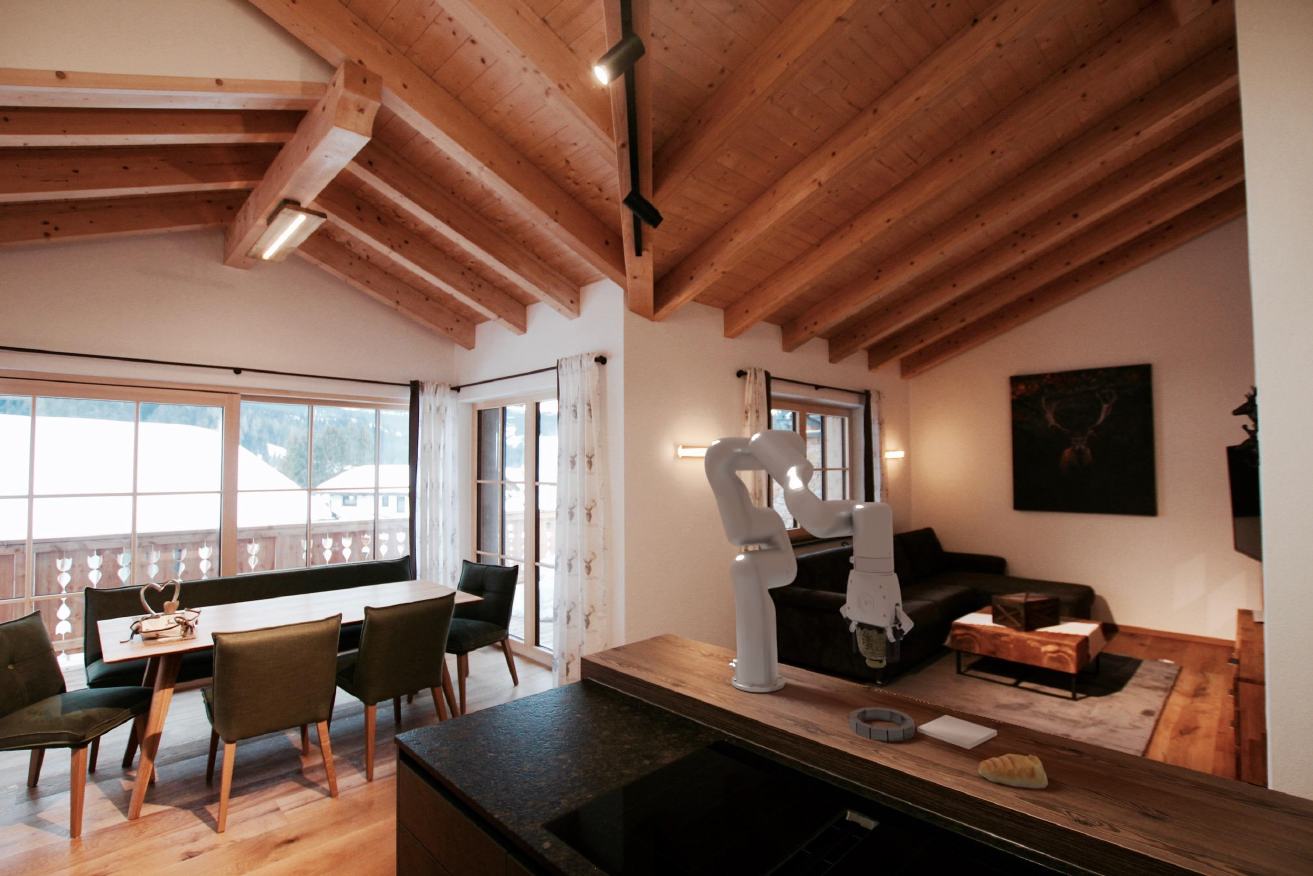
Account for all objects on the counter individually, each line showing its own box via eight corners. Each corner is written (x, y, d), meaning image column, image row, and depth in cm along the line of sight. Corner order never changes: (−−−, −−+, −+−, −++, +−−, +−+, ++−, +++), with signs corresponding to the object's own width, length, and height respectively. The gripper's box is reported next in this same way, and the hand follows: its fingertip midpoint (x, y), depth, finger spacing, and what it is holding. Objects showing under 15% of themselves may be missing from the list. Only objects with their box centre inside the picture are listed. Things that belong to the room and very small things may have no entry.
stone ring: (838, 727, 122) (837, 716, 122) (874, 713, 129) (874, 703, 129) (890, 746, 113) (889, 735, 113) (926, 730, 119) (926, 720, 119)
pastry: (987, 788, 97) (986, 763, 98) (972, 769, 104) (971, 745, 104) (1052, 791, 96) (1050, 766, 96) (1033, 771, 103) (1031, 747, 103)
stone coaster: (917, 731, 119) (917, 727, 119) (946, 719, 125) (945, 715, 125) (968, 749, 111) (968, 744, 111) (997, 735, 116) (996, 730, 116)
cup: (890, 660, 125) (889, 620, 126) (901, 672, 118) (899, 629, 118) (852, 660, 126) (851, 620, 126) (860, 671, 119) (859, 629, 119)
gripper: (825, 561, 128) (828, 649, 127) (901, 573, 114) (904, 671, 113) (849, 558, 132) (851, 643, 131) (925, 568, 118) (928, 664, 117)
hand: (876, 655), depth 122 cm, fingers closed on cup, 7 cm apart
